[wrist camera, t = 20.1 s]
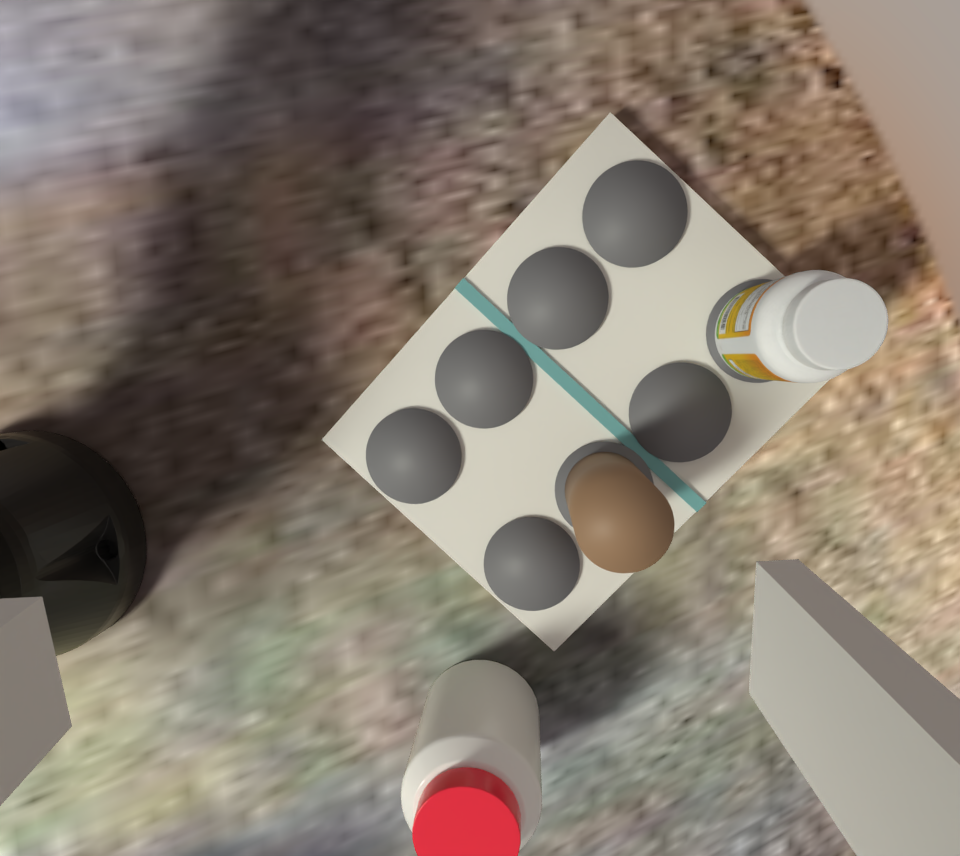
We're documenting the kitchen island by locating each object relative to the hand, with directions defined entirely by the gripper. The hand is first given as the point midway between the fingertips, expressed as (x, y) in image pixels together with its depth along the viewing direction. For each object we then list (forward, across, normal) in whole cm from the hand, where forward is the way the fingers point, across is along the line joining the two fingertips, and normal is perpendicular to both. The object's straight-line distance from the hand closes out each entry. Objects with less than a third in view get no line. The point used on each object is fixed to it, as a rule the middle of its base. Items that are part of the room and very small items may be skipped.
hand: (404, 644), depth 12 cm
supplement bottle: (+27, +18, +3) cm, 32 cm away
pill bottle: (+27, +1, -22) cm, 35 cm away
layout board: (+28, +8, -1) cm, 29 cm away
